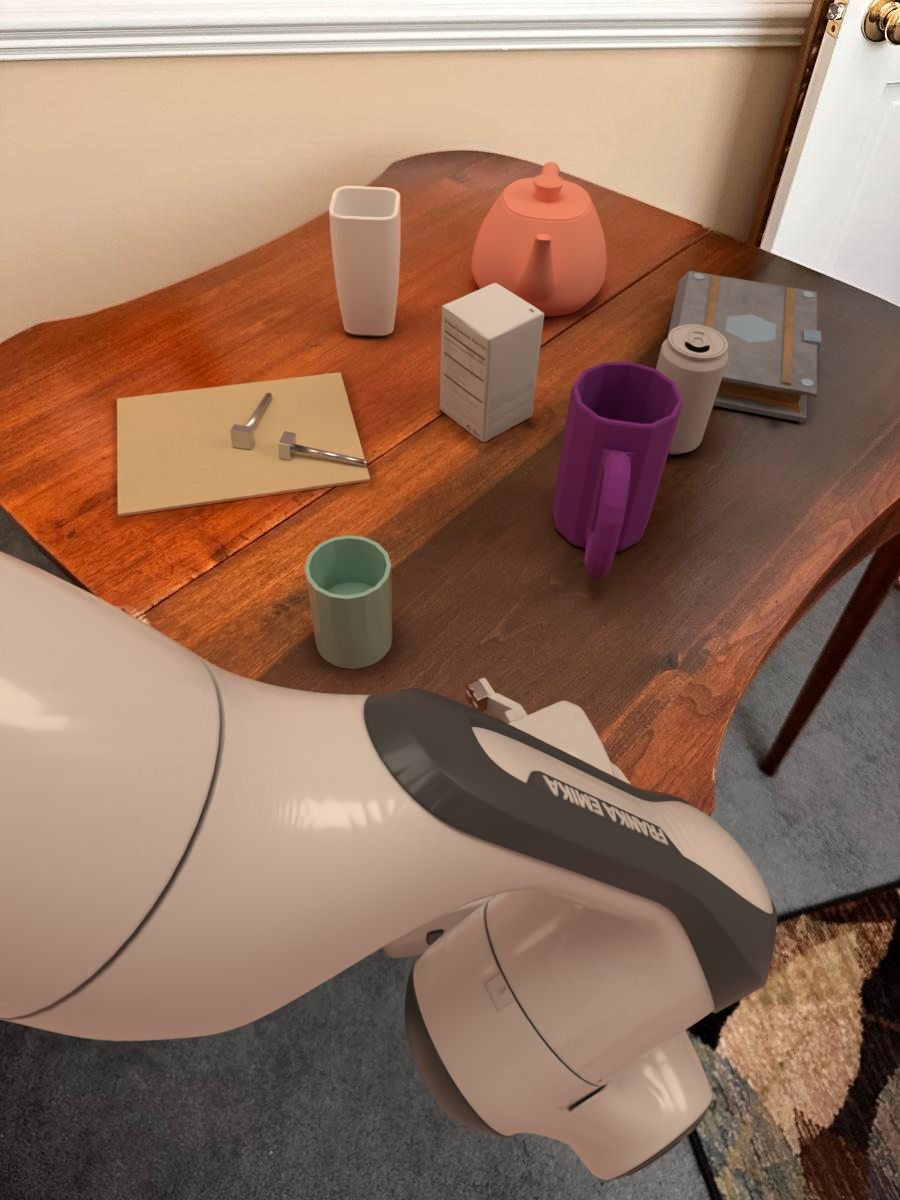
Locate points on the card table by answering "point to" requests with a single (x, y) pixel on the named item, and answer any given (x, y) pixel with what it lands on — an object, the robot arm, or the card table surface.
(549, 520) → the card table surface
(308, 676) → the card table surface
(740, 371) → the book
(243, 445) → the square head hammer
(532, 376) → the white packaging box
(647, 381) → the mug
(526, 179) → the teapot
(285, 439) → the metal mallet
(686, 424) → the beverage can
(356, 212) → the cup
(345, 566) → the tumbler
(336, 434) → the mat
